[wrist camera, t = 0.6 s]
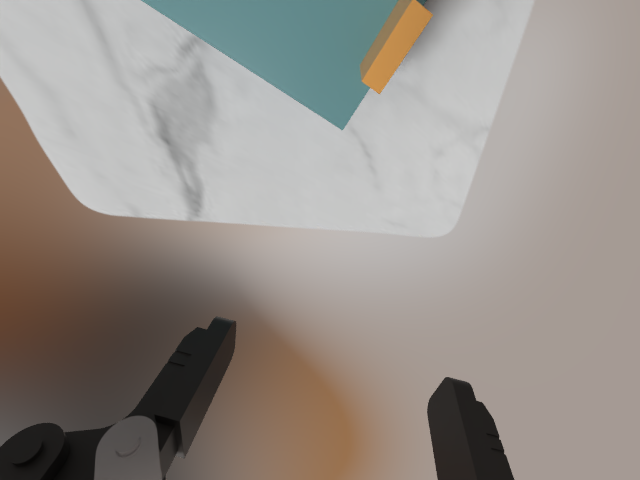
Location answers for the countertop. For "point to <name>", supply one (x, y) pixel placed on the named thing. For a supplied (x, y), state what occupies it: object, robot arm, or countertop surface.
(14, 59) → the countertop surface
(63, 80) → the countertop surface
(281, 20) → the lid
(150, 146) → the countertop surface
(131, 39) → the countertop surface
